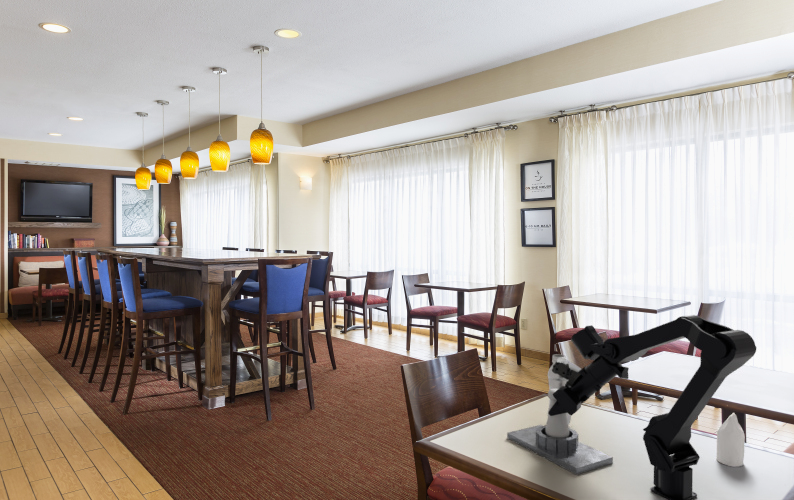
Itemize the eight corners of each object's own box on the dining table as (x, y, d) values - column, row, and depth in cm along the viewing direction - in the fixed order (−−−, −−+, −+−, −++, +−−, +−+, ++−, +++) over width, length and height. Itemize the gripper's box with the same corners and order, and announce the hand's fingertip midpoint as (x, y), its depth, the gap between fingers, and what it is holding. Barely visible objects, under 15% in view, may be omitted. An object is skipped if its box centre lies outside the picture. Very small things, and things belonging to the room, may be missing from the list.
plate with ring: (612, 463, 122) (612, 444, 122) (576, 474, 117) (576, 455, 117) (540, 429, 143) (540, 414, 143) (507, 438, 138) (507, 421, 138)
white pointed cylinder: (716, 406, 126) (744, 410, 123) (716, 454, 126) (743, 459, 124) (717, 413, 121) (745, 417, 118) (716, 463, 121) (745, 469, 118)
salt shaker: (570, 446, 126) (570, 393, 126) (546, 444, 128) (546, 392, 127) (567, 436, 132) (567, 386, 132) (544, 435, 133) (544, 386, 133)
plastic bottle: (547, 428, 144) (547, 358, 144) (547, 420, 151) (547, 352, 150) (571, 430, 143) (571, 359, 142) (570, 422, 149) (570, 353, 148)
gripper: (582, 342, 135) (541, 378, 141) (561, 356, 119) (516, 395, 126) (614, 376, 131) (570, 411, 137) (597, 395, 115) (548, 434, 122)
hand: (551, 412), depth 130 cm, fingers closed on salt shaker, 3 cm apart
